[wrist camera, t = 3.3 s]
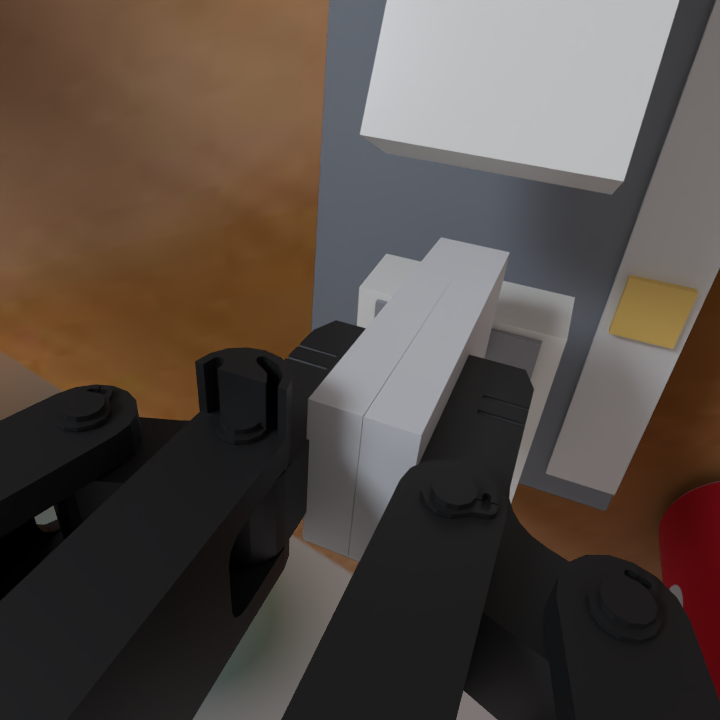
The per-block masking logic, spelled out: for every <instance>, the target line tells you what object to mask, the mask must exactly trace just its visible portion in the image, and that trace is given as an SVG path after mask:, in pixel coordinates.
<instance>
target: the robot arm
mask: <svg viewBox="0 0 720 720" xmlns="http://www.w3.org/2000/svg"><path fill="white" fill-rule="evenodd" d="M509 254H510V252H506V251H501V250H497V249H492V248H488V247H483V246H478V245H474V244H470V243H465V242H460V241H456V240H451V239H447V238H442V237H441V238H440V239H439V240H438V242H437V243H436V244H435V245H434V247H433V248H432V249H431V250H430V251H429V253H428V254H427V255H426V256H425V257H424V259H423V260H422V261H421V262H420V264H419V265H418V266H417V267H416V268H415V270H414V271H413V272H412V273H411V274H410V276H409V277H408V278H407V279H406V281H405V282H404V283H403V284H402V285H401V287H400V288H399V289H398V290H397V292H396V293H395V294H394V295H393V296H392V298H391V299H390V300H389V301H388V302H387V304H386V305H385V306H384V307H383V309H382V310H381V311H380V312H379V313H378V315H377V316H376V317H375V318H374V319H373V321H372V322H371V323H370V324H369V326H368V327H367V328H363V327H359V326H355V325H352V324H348V323H344V322H341V321H337V320H335V321H333V322H331V323H328V324H326V325H324V326H321V327H319V328H317V329H314V330H313V331H312V332H311V333H310V334H309V335H308V336H307V337H306V338H305V339H304V340H303V341H302V342H301V343H300V346H299V347H296V348H295V349H294V350H293V351H292V352H291V354H290V355H289V357H288V359H285V360H283V359H282V358H281V357H279V356H276V355H274V354H272V353H270V352H268V351H265V350H259V349H253V348H228V349H224V350H220V351H217V352H213V353H209V354H208V355H206V356H204V357H202V358H201V359H199V360H197V361H195V364H196V375H197V386H198V396H199V407H200V412H199V413H198V414H197V415H196V416H195V417H194V418H193V419H192V420H191V421H179V420H167V419H155V418H143V417H139V415H138V409H137V403H136V400H135V399H134V398H133V397H132V396H131V394H130V393H129V392H128V391H125V390H122V389H120V388H117V387H115V386H106V385H89V386H81V387H75V388H72V389H69V390H66V391H64V392H61V393H58V394H55V395H53V396H51V397H49V398H47V399H45V400H43V401H41V402H39V403H36V404H34V405H32V406H30V407H28V408H26V409H24V410H22V411H20V412H17V413H15V414H13V415H11V416H9V417H7V418H5V419H3V420H1V421H0V720H192V719H193V717H194V716H195V714H196V713H197V711H198V709H199V708H200V706H201V704H202V703H203V701H204V699H205V698H206V696H207V695H208V693H209V691H210V690H211V688H212V686H213V685H214V683H215V681H216V680H217V678H218V677H219V675H220V673H221V672H222V670H223V668H224V667H225V665H226V663H227V662H228V660H229V658H230V657H231V655H232V654H233V652H234V650H235V649H236V647H237V645H238V644H239V642H240V640H241V639H242V637H243V635H244V634H245V632H246V631H247V629H248V627H249V626H250V624H251V622H252V620H253V619H254V617H255V616H256V614H257V612H258V611H259V609H260V608H261V606H262V604H263V603H264V601H265V599H266V598H267V596H268V594H269V593H270V591H271V589H272V588H273V586H274V585H275V583H276V581H277V579H278V578H279V576H280V575H281V573H282V571H283V570H284V568H285V565H286V562H287V559H288V556H289V538H290V537H291V535H292V534H293V532H294V531H295V529H296V528H297V526H298V524H299V523H300V521H301V520H302V518H303V540H305V541H308V542H310V543H313V544H315V545H318V546H321V547H323V548H326V549H328V550H331V551H333V552H336V553H338V554H341V555H343V556H346V557H348V558H350V559H353V560H355V561H358V562H359V564H358V566H357V568H356V570H355V572H354V574H353V576H352V578H351V580H350V582H349V584H348V586H347V588H346V590H345V592H344V594H343V596H342V598H341V600H340V602H339V604H338V606H337V608H336V610H335V612H334V614H333V616H332V618H331V620H330V622H329V624H328V626H327V628H326V631H325V632H324V634H323V636H322V638H321V640H320V642H319V645H318V647H317V649H316V651H315V653H314V655H313V657H312V659H311V661H310V663H309V665H308V667H307V669H306V671H305V673H304V675H303V677H302V679H301V681H300V683H299V685H298V687H297V689H296V691H295V693H294V695H293V697H292V699H291V701H290V703H289V706H288V707H287V709H286V711H285V713H284V715H283V717H282V719H281V720H456V717H457V713H458V709H459V705H460V701H461V697H462V693H463V690H464V691H465V692H466V693H467V694H468V695H470V696H471V697H472V698H473V699H474V700H475V701H477V702H478V703H479V704H480V705H481V706H483V707H484V708H485V709H486V710H487V711H488V712H490V713H491V714H492V715H493V716H494V717H495V718H496V719H498V720H720V700H719V698H718V695H717V692H716V689H715V687H714V684H713V681H712V678H711V676H710V673H709V670H708V668H707V665H706V662H705V659H704V657H703V654H702V651H701V648H700V646H699V643H698V640H697V638H696V635H695V632H694V629H693V627H692V624H691V621H690V619H689V617H688V616H687V614H686V612H685V610H684V609H683V607H682V605H681V603H680V602H679V600H678V598H677V597H676V596H675V595H674V594H673V593H672V592H671V591H670V590H669V589H668V588H667V587H666V586H665V585H664V584H663V583H662V582H661V581H660V580H659V579H658V578H657V577H655V576H654V575H652V574H651V573H649V572H647V571H646V570H644V569H642V568H641V567H639V566H637V565H636V564H634V563H632V562H629V561H626V560H622V559H619V558H616V557H613V556H610V555H585V556H582V557H580V558H578V559H575V560H573V561H570V562H568V561H567V560H565V559H564V558H562V557H561V556H559V555H558V554H556V553H554V552H553V551H551V550H550V549H548V548H547V547H545V546H544V545H543V544H541V543H540V542H539V541H537V540H536V539H535V538H534V537H532V536H531V535H530V534H529V533H528V532H527V530H526V529H525V528H524V527H523V526H522V525H521V524H520V522H519V521H518V519H517V517H516V515H515V514H514V512H513V510H512V506H511V502H510V499H509V498H510V486H511V481H512V477H513V473H514V469H515V465H516V461H517V457H518V453H519V449H520V445H521V441H522V437H523V433H524V428H525V424H526V420H527V416H528V412H529V408H530V404H531V400H532V396H533V392H534V388H533V385H532V383H531V381H530V378H529V376H528V374H527V371H526V370H525V369H521V368H517V367H514V366H510V365H506V364H502V363H499V362H495V361H491V360H488V359H484V358H485V354H486V350H487V346H488V341H489V337H490V333H491V329H492V325H493V321H494V316H495V312H496V308H497V304H498V300H499V295H500V291H501V287H502V283H503V279H504V275H505V270H506V266H507V262H508V258H509ZM51 506H54V509H55V512H56V515H57V520H55V521H53V522H50V523H48V524H45V525H38V524H36V522H35V519H34V517H35V516H37V515H39V514H40V513H42V512H43V511H45V510H47V509H48V508H50V507H51Z"/></svg>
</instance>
